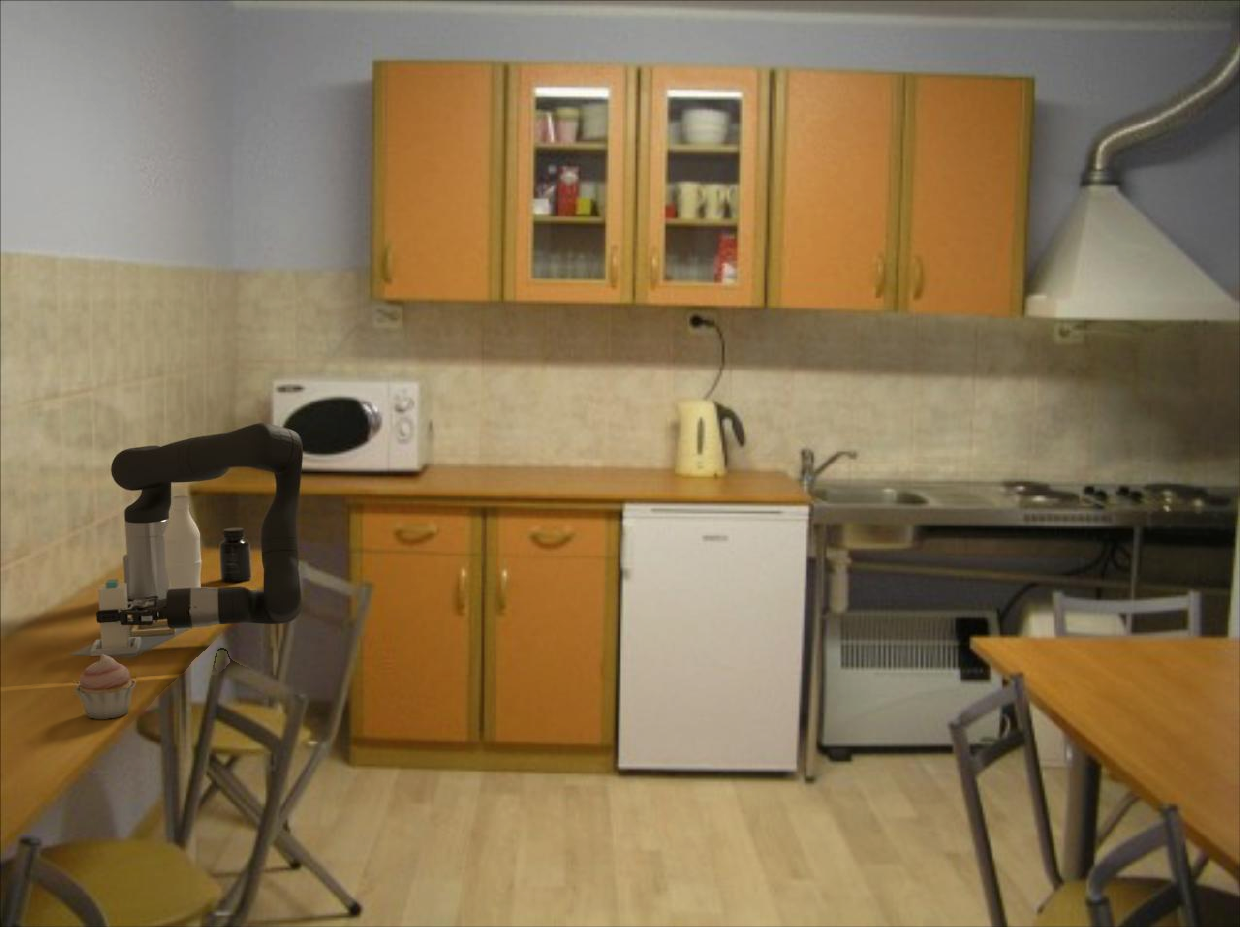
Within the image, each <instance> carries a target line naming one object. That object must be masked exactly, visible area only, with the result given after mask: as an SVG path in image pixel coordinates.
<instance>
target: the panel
mask: <svg viewBox="0 0 1240 927" xmlns="http://www.w3.org/2000/svg"><path fill="white" fill-rule="evenodd" d="M194 628H195V627H193V628H178V629H170V628H169V627H168V624H167V619H161V620H157V622H154V623H153V624H152V625H129V635H130V646H129V647H124V648H109V649H102V644H101V638H100V639H95V641H94V642H93V643H91V644H89V645H87V646H85V647H83V648H80V649H79V650H76V651H74V652H72V653H70V654H69V655H70V656H84V657H85V656H86V657H87V656H89V657H100V656H101V654H104V655H106V656H109V657H111V658H123V659H124V658H128V659H135V658H137V657H138V656H140V655H143V654H144V653H146V652H148V651H150V650H152V649H153V648H156V647H158V646H160V645H162V644H164V643H165V642H168V641H169V640H172V639H173V638H175V637H177V636H180V635H182V634H184V633H186V632H187V631H189V630H192V629H194Z"/></svg>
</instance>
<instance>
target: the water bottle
mask: <svg viewBox="0 0 1240 927" xmlns="http://www.w3.org/2000/svg"><path fill="white" fill-rule="evenodd" d="M171 502H172V503H171V510H172V514H171V518H169V523H168V525H167V528H166V530H165V533H164V540H165V557H166V562H165V567H166V570H167V574H168V581H169V589H180V588H197V587H202V586H201V569H202V565H203V564H202V557H201V555H202V554H201V553H202V552H201V539H200V538H201V532H200V531H199V528H198V525H197V524H196V523H195V521H194V519H193V517H192V516H191V513H190V511H189V508H190V505H189V499H188V495H173V496H171Z"/></svg>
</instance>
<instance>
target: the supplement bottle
mask: <svg viewBox="0 0 1240 927" xmlns="http://www.w3.org/2000/svg"><path fill="white" fill-rule="evenodd" d="M245 536H246V534H245V528H244V527H228V528H223V529H222V538H223V540H222V541H221V542H220V543H219V545H218V548H219V568H220V579H221V580H220V581H222V582H223V581H225V582H224V583H229V582H234V583H243V582H242V581H244V582H247V581H249V579H250V580H251V579H252V564H251V546H250V545H251V544H250V542H249V541H248V540H247V539H245Z"/></svg>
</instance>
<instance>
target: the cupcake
mask: <svg viewBox="0 0 1240 927" xmlns="http://www.w3.org/2000/svg"><path fill="white" fill-rule="evenodd" d="M99 657H100V658H99V661H96V662H94V663H92V664H90V665H88V667H86V668H85V670H84V672H83V673H82V674H81V675H80V676H79V679H78V681H79V684H77V685H76V686H77V688H75V689H74V691H75V693H76V694H77V695H78V696H79V698H80V700H81V702H82V704H83V707H84V708H83V709H84V711H85V714H86V715H87V717H88V718H89V717H90V718H89V719H92V718H94V719H93V720H109V719H108V718H112V719H117V718H119V717H122V716H124V715H127V714H128V713H129V710H130V705H131V699H132V694H133V691H134V688H135V686H136V684H137V680H132V678H131V677H130V672H129V671H130V670H128V668H127V667H126V666H125V665H123V664H122V663H119V662H117V661H116V660H115V659H114V657H109V656H106V655H104V654H101V656H99Z"/></svg>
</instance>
